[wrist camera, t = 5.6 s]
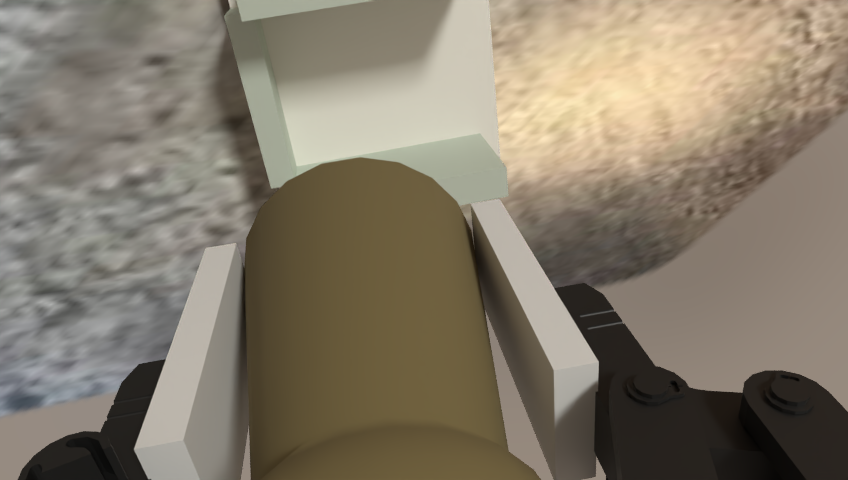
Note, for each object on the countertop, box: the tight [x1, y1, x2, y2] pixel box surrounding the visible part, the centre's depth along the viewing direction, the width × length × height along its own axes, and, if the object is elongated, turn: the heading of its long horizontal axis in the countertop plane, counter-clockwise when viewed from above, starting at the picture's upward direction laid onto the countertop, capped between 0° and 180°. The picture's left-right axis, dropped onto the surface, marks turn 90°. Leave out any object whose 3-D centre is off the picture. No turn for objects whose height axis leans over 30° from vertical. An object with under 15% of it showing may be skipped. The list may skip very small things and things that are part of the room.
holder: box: [224, 0, 508, 205], centre depth 29 cm, size 12×14×6 cm
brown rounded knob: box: [244, 157, 541, 480], centre depth 11 cm, size 6×6×11 cm
